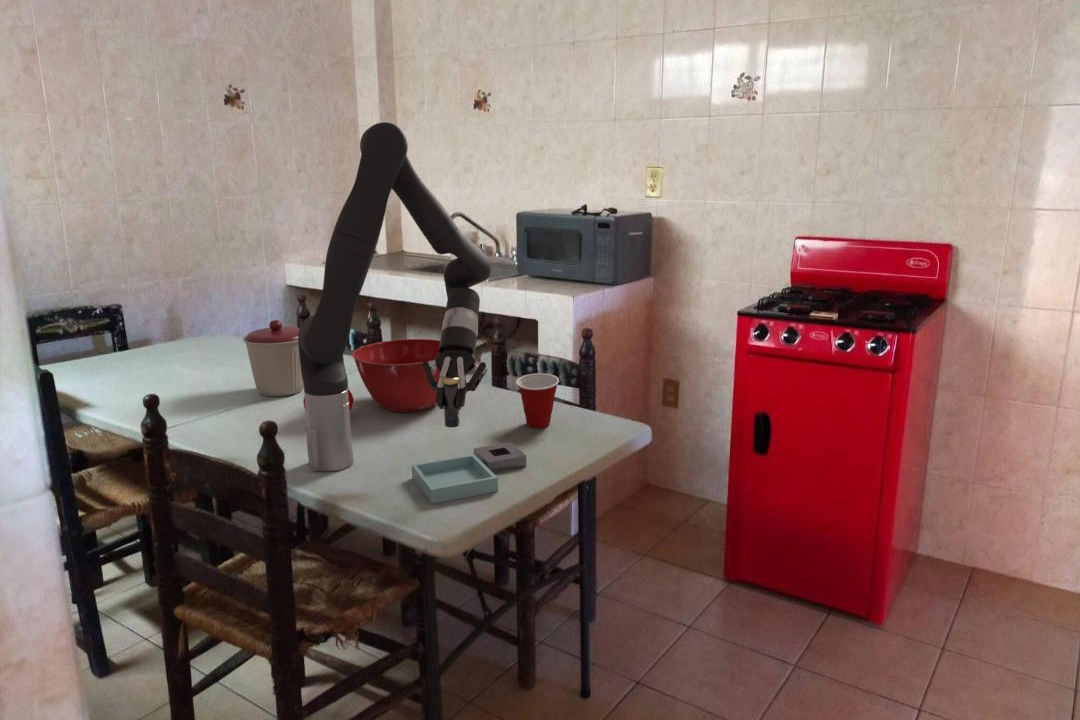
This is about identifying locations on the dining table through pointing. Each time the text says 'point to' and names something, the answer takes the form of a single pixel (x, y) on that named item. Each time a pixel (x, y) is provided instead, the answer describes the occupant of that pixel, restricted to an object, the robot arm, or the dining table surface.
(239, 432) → the dining table surface
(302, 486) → the dining table surface
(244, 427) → the dining table surface
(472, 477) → the tray
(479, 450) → the grey square socket base
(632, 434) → the dining table surface
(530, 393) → the plastic cup
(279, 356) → the canister
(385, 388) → the mixing bowl
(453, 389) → the pin
